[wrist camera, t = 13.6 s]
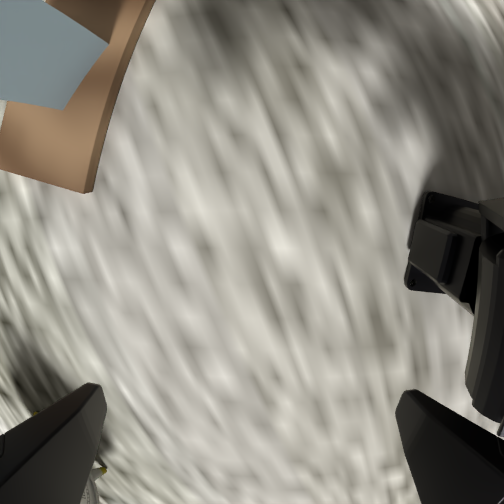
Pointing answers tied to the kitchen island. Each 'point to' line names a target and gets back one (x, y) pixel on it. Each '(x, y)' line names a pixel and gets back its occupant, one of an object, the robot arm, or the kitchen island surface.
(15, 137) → the tan flat board
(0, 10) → the slate-blue post
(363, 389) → the kitchen island surface
